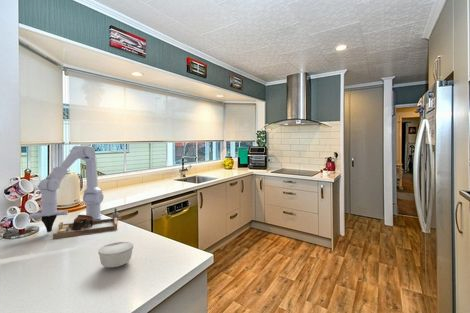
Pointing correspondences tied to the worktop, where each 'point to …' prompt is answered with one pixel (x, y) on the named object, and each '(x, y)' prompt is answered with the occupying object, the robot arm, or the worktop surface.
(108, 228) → the wooden frame
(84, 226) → the pottery mug
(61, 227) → the beige wooden block
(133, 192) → the worktop surface
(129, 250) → the ramekin
